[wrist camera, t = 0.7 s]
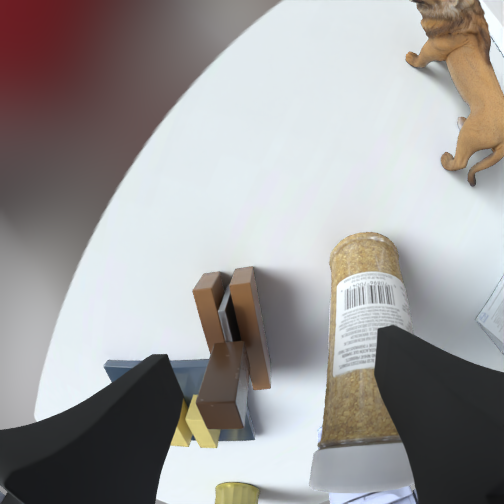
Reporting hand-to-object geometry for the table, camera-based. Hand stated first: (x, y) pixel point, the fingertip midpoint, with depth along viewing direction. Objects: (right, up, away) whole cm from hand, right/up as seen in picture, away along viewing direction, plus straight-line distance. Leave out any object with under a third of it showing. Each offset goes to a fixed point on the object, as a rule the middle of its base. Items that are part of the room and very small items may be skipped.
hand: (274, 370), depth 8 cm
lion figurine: (+13, +16, +6) cm, 21 cm away
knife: (-2, -1, +11) cm, 11 cm away
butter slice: (-4, -10, +12) cm, 16 cm away
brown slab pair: (-2, -1, +11) cm, 11 cm away
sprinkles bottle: (+6, +4, +8) cm, 11 cm away
